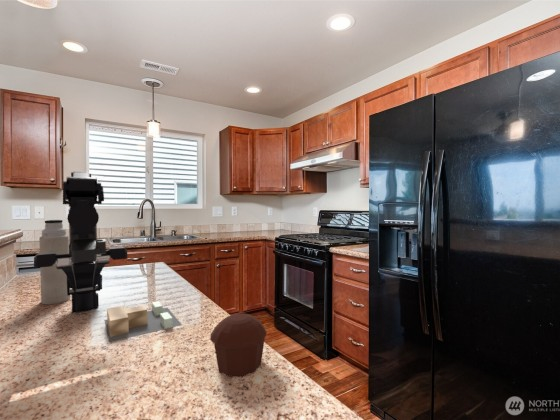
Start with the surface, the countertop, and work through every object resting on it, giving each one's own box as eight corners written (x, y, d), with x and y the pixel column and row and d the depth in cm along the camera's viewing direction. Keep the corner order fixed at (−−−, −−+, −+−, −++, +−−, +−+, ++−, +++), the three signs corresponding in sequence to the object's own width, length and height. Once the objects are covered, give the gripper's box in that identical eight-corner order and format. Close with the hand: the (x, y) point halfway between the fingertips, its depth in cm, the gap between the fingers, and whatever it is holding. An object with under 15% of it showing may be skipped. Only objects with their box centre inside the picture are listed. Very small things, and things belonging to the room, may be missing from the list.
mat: (109, 345, 69) (109, 342, 69) (104, 322, 83) (104, 320, 83) (182, 327, 79) (182, 324, 79) (167, 309, 92) (167, 307, 92)
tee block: (110, 336, 72) (110, 320, 72) (107, 323, 80) (106, 308, 80) (149, 327, 77) (149, 312, 77) (143, 315, 85) (142, 302, 85)
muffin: (241, 345, 69) (241, 303, 69) (277, 361, 62) (277, 314, 62) (198, 368, 60) (198, 319, 60) (235, 389, 53) (235, 334, 53)
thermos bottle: (59, 295, 107) (57, 219, 106) (75, 298, 104) (73, 219, 104) (35, 302, 99) (33, 220, 99) (51, 305, 97) (49, 220, 96)
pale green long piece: (164, 329, 76) (164, 319, 76) (152, 310, 90) (151, 302, 90) (172, 327, 78) (172, 317, 77) (158, 309, 91) (158, 301, 91)
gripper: (29, 232, 61) (31, 307, 61) (129, 227, 71) (131, 291, 72) (35, 229, 70) (37, 294, 70) (124, 225, 80) (125, 281, 81)
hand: (84, 290), depth 73 cm, fingers open, 4 cm apart
